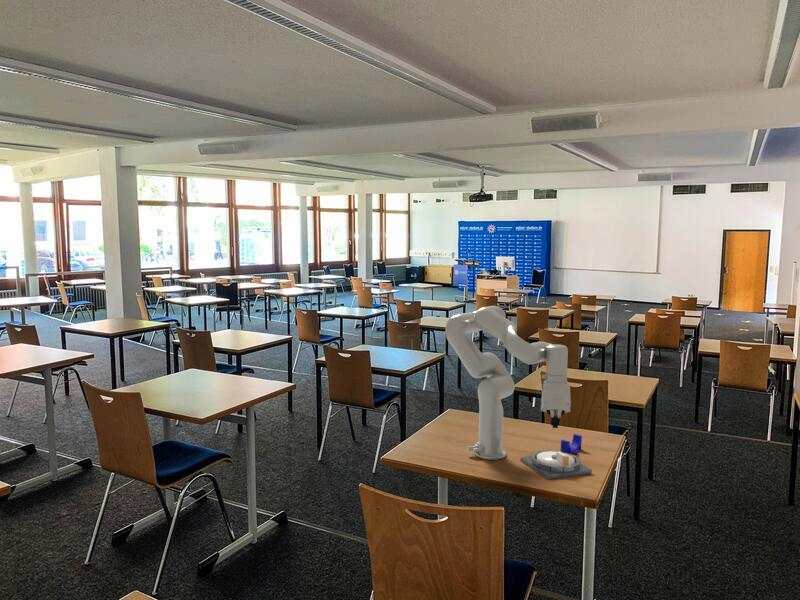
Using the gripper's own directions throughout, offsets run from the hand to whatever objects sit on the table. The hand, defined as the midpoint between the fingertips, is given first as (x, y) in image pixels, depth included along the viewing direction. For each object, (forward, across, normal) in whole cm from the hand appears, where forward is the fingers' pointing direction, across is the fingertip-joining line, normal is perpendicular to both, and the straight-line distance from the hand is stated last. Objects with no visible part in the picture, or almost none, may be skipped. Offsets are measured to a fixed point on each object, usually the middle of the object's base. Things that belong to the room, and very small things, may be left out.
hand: (554, 427), depth 216 cm
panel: (+18, +2, +6) cm, 19 cm away
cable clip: (+18, +11, +24) cm, 32 cm away
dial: (+16, +2, +6) cm, 17 cm away
